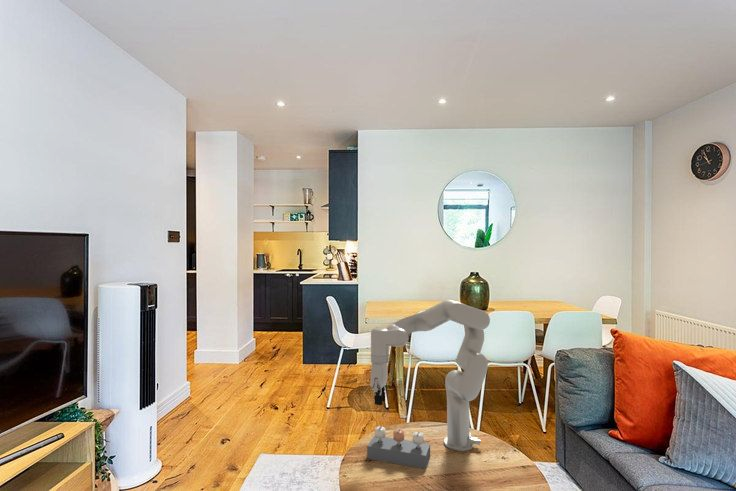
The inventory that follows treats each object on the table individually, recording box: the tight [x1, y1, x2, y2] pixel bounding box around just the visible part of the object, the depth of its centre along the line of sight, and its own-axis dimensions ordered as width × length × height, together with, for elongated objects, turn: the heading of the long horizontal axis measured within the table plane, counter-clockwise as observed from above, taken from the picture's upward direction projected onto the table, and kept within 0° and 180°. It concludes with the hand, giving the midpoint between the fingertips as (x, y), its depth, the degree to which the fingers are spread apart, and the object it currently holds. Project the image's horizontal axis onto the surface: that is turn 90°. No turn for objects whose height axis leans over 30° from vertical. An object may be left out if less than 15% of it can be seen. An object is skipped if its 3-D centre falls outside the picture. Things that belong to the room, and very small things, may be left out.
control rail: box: [366, 434, 431, 470], centre depth 157 cm, size 24×10×5 cm, turn 71°
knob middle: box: [392, 428, 405, 446], centre depth 157 cm, size 4×4×6 cm
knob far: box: [374, 425, 386, 443], centre depth 160 cm, size 4×4×6 cm
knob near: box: [412, 431, 425, 449], centre depth 154 cm, size 4×4×6 cm
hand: (380, 402), depth 160 cm, fingers open, 3 cm apart
